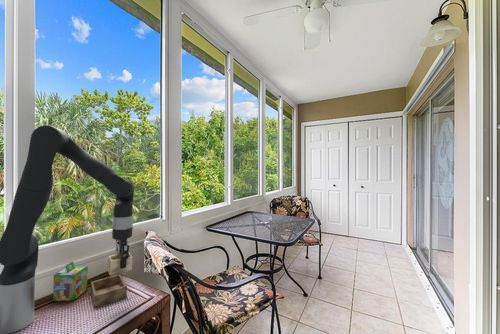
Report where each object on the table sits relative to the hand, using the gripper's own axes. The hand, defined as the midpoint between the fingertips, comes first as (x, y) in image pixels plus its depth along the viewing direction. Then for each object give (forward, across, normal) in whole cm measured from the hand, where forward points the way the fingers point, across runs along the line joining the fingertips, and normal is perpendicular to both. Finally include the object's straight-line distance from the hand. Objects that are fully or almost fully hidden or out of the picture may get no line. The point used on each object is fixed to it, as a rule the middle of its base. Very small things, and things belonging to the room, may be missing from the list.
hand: (121, 265), depth 94 cm
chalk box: (+18, -21, -16) cm, 32 cm away
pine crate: (+2, 0, 0) cm, 2 cm away
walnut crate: (+17, -11, -3) cm, 21 cm away
